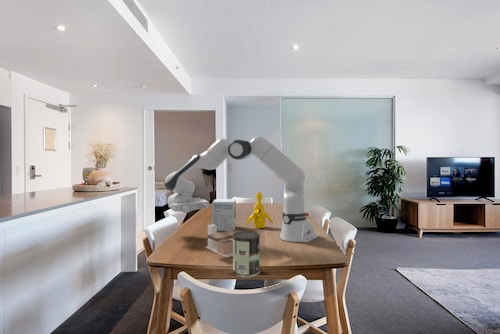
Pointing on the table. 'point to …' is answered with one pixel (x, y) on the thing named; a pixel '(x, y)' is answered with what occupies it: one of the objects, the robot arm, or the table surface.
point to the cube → (225, 247)
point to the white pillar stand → (211, 243)
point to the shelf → (223, 235)
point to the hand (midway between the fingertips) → (197, 207)
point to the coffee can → (246, 254)
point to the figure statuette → (259, 214)
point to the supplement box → (224, 214)
